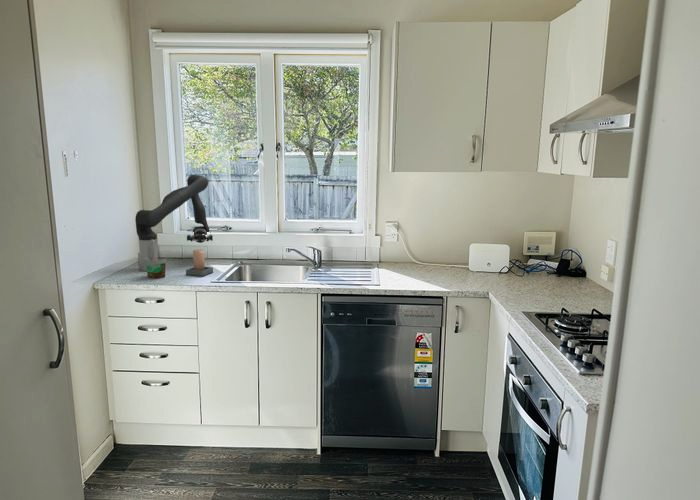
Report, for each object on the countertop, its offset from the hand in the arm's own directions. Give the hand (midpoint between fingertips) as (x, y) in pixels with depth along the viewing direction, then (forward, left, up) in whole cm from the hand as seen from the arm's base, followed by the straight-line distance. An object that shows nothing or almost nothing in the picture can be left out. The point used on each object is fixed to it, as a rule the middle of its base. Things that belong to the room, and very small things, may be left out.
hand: (199, 239), depth 268 cm
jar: (+7, -12, -16) cm, 21 cm away
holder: (+8, -12, -17) cm, 22 cm away
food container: (-9, -28, -17) cm, 34 cm away
